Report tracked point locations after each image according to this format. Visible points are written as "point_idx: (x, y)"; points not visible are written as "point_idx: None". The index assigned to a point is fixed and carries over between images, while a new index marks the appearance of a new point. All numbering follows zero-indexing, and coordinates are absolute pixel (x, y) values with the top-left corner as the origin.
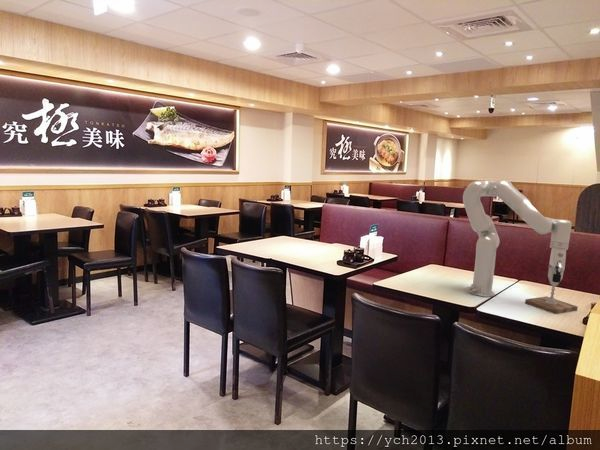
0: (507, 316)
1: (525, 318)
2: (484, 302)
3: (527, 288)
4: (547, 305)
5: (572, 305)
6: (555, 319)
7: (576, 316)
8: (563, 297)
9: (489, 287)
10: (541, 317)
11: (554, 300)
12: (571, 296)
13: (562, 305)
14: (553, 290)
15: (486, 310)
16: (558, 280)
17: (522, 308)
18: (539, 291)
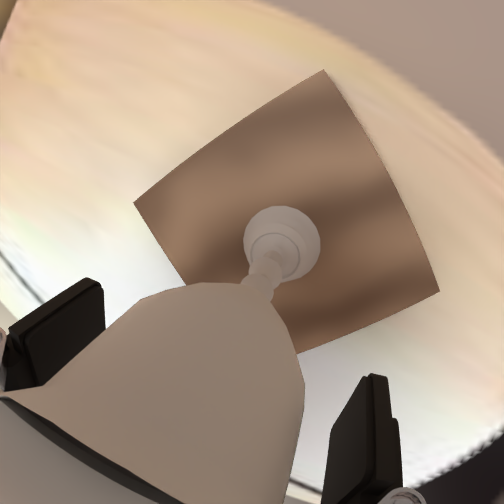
0: (438, 464)
1: (467, 427)
2: (289, 478)
3: (14, 212)
4: (354, 303)
5: (309, 100)
6: (500, 322)
7: (459, 160)
8: (75, 72)
9: None
10: (470, 373)
11: (306, 247)
12: (57, 32)
13: (332, 186)
14: (270, 289)
15: None
16: (396, 423)
17: None
18: (28, 171)
